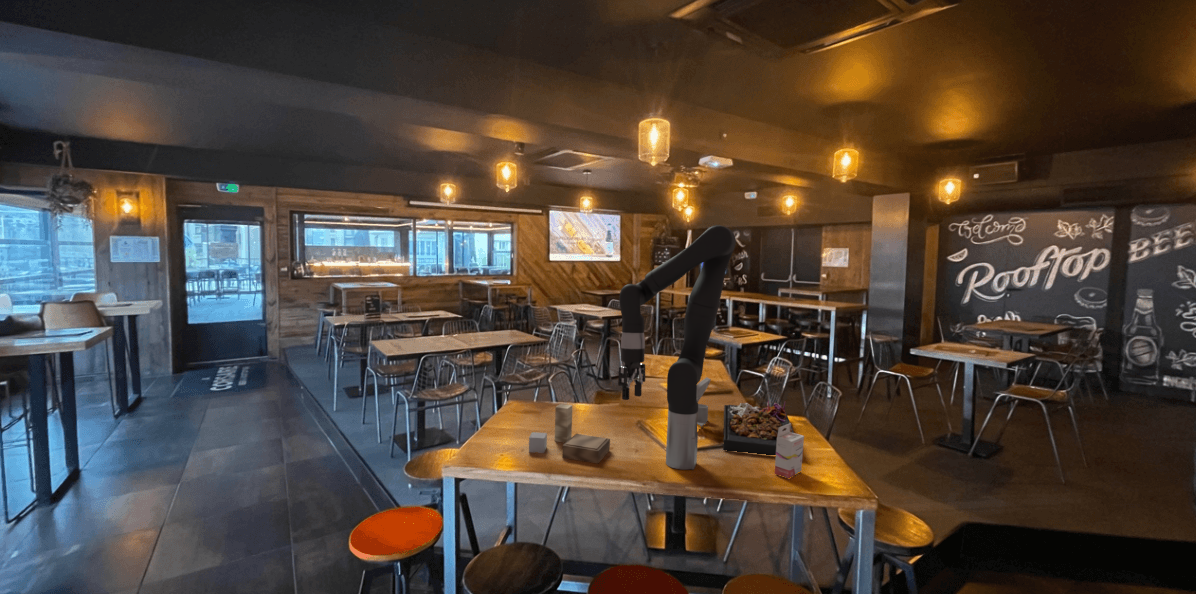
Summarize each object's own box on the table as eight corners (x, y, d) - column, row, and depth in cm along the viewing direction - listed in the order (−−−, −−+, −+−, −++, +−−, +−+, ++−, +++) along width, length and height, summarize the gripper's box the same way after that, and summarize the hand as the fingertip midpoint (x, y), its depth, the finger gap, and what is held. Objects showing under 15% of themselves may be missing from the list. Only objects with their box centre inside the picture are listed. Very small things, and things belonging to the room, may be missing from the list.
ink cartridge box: (789, 480, 153) (792, 431, 152) (773, 475, 156) (776, 427, 155) (802, 472, 159) (805, 426, 158) (786, 467, 162) (789, 422, 161)
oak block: (571, 438, 182) (572, 405, 181) (566, 442, 177) (567, 408, 177) (559, 436, 183) (560, 403, 182) (554, 441, 179) (555, 407, 178)
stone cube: (546, 447, 173) (546, 433, 172) (544, 453, 168) (544, 438, 167) (531, 446, 173) (532, 432, 172) (528, 452, 168) (529, 437, 168)
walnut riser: (609, 450, 172) (610, 437, 171) (598, 463, 160) (598, 450, 160) (575, 445, 176) (576, 432, 175) (562, 457, 164) (562, 444, 164)
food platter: (723, 415, 219) (725, 391, 218) (785, 421, 213) (786, 396, 212) (723, 452, 175) (724, 422, 174) (800, 461, 169) (802, 431, 169)
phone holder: (685, 416, 213) (687, 373, 212) (709, 420, 208) (711, 376, 207) (671, 428, 197) (673, 381, 196) (697, 432, 193) (699, 385, 192)
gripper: (633, 348, 157) (632, 402, 156) (653, 346, 169) (652, 396, 168) (611, 347, 160) (610, 399, 160) (632, 345, 173) (631, 393, 172)
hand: (631, 397), depth 164 cm, fingers open, 8 cm apart
